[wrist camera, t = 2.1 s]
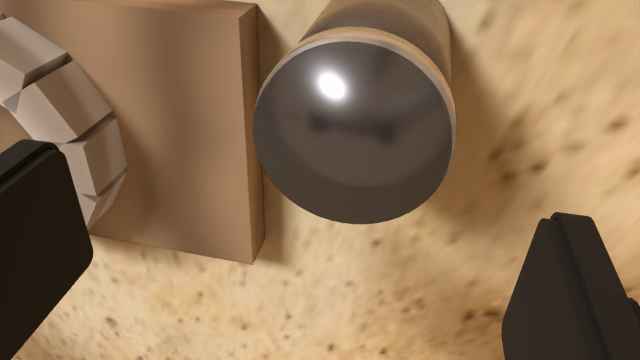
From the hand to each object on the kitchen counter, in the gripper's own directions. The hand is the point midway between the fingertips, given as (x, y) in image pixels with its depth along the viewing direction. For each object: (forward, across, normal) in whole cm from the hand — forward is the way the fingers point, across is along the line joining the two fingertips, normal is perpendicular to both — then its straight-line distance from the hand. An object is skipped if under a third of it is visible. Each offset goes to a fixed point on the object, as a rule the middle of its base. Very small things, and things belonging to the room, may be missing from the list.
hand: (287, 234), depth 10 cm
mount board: (+12, +13, +5) cm, 18 cm away
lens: (+11, -1, 0) cm, 11 cm away
